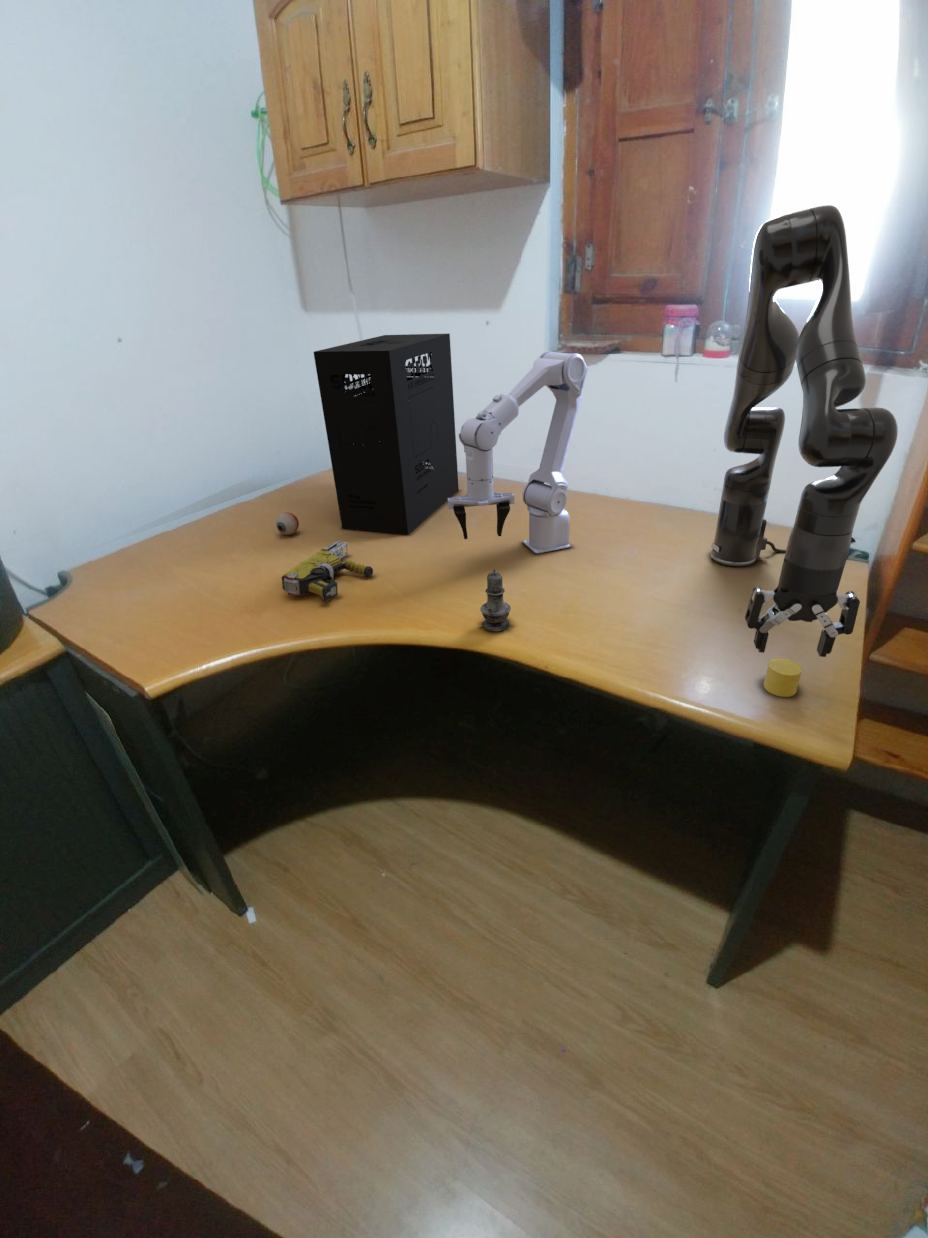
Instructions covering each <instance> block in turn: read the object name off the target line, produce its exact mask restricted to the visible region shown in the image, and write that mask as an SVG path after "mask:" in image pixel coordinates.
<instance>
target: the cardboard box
mask: <svg viewBox="0 0 928 1238" xmlns="http://www.w3.org/2000/svg"><path fill="white" fill-rule="evenodd" d="M426 355H427V356H426ZM313 357H314V358H313V359H314V365H315V370H316V376H317V382H318V389H319V394H320V402H321V406H322V413H323V419H324V427H325V433H326V438H327V444H328V451H329V456H330V457H329V458H330V463H331V469H332V476H333V483H334V487H335V493H336V494H335V495H336V499H337V505H338V512H339V517H340V519H339V520H340V523H341V524H340V525H341V529H346V530H347V529H348V530H358V531H369V532H376V533H377V532H379V533H388V534H398V535H410V534H411V533H412V532H413V531H414V530H415V529H416V528H418V526H420V525H421V524H422V523H424V521H425V520H427V519H428V518H429V517H430V516H431V515H432V514H434V513H435V512H436V511H437V510H438V509H440V507H441V506H442V505H444V504H445V503H446V502H448V498H453V496H454V495H455V494H456V493H458V491H459V490H460V489H459V488H460V487H459V471H458V455H457V454H458V453H457V438H456V437H457V436H456V421H455V418H456V417H455V404H454V403H455V401H454V384H453V383H454V382H453V369H452V367H453V366H452V349H451V334H450V333H415V334H414V333H411V334H383V335H379V336H375V337H371V338H367V339H361V340H357V341H354V342H349V343H345V344H341V345H337V346H332V347H327V348H323V349H319V350H315V351H313ZM416 357H417V360H416ZM407 361H408V362H407ZM428 361H429V364H428ZM406 364H407V365H406ZM423 364H424V365H423ZM427 364H428V365H427ZM355 375H356V376H357V378H356V377H355ZM346 376H347V377H346ZM362 376H363V377H362ZM351 379H352V380H351Z"/></svg>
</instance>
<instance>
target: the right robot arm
mask: <svg viewBox="0 0 928 1238" xmlns="http://www.w3.org/2000/svg"><path fill="white" fill-rule="evenodd" d="M847 243H848V242H847V234H846V228H845V223H844V220H843V216H842V214H841V212H840V211H839V209H838V208H837V207H836V206H834V205H831V204H828V205H827V204H826V205H820V206H815V207H814V206H813V207H810V208H807V209H802V210H799V211H795V212H791V213H788V214H787V213H786V214H783V215H781V216H777V217H774V218H771V219H767V220H766V221H765V222H763V223H762V224H761V225H760V227H759V229H758V231H757V232H756V235H755V238H754V241H753V247H752V255H751V262H750V274H749V276H750V277H749V287H748V288H749V289H748V301H747V309H746V314H745V315H746V316H745V321H744V326H743V332H742V337H741V340H740V341H741V342H740V347H739V351H738V357H737V362H736V373H735V378H734V379H735V380H734V388H733V394H732V398H731V403H730V406H729V410H728V413H727V417H726V422H725V426H724V433H723V445H724V448H725V449H726V450H727V451H728V452H729V453H730V452H731V453H734V454H745V455H758V456H757V457H756V458H755V459H753V460H751V461H749V462H747V463H743V464H740V465H736V466H733V467H731V468H729V469H726V472H725V473H724V477H723V484H722V490H721V496H720V500H719V501H720V502H719V507H718V514H717V519H716V524H715V531H714V537H713V542H711V545H710V546H711V552H710V558H711V559H712V560H713V561H714V562H716V563H718V564H721V565H724V566H729V567H746V566H751V565H753V564H754V563H755V562H757V561H760V556H761V553H762V552H761V551H765V550H766V547H767V545H769V546H770V547H771V549H772V551H773V552H776V553H780V554H784V557H783V562H782V566H781V570H780V574H779V579H778V583H777V586H776V588H775V589H774V590H766V589H762V587H760V586H755V587H753V588H752V591H751V594H750V598H749V602H748V605H747V608H746V611H745V616H744V620H745V622H746V626H747V628H748V629H751V630H752V629H754V630H755V633H754V637H753V643H754V647H755V650H757V652H758V653H762V654H763V653H765V652H766V648H767V643H768V639H769V635H770V634H769V631H770V630H772V629H773V628H774V627H775V626H779V625H782V623H783V622H785V621H786V620H788V621H789V622H799V621H802V622H806V623H813V621H816V620H818V621H819V623H820V624H821V626H822V627H823V628H824V629H822V630H821V633H820V635H819V639H818V643H817V646H816V652H817V654H818V656H819V657H821V658H825V657H827V655H829V654H831V652H832V650H833V647H834V644H835V641H836V638H837V637H838V636H839V635H843V634H844V635H851V634H853V633H854V629H855V625H856V621H857V617H858V613H859V608H860V603H861V601H860V599H859V598H858V596H857V594H856V593H855V592H854V591H853V590H848V591H846V592H845V593H844V594H842V593H839V594H838V593H837V591H838V590H839V586H840V583H841V580H842V576H843V573H844V569H845V566H846V563H847V561H848V560H849V555H850V549H851V544H852V542H856V539H855V538H854V537H853V531H854V527H855V524H856V521H857V517H858V515H859V514H858V513H859V510H860V507H861V504H862V502H863V500H864V499H865V497H866V495H867V494H868V492H869V491H870V489H871V488H872V486H873V485H874V482H875V481H876V479H877V478H878V476H879V475H880V473H881V471H882V470H883V469H884V467H885V465H886V464H887V462H888V461H889V459H890V457H891V456H892V453H893V451H894V449H895V447H896V444H897V440H898V435H899V433H898V431H899V429H898V422H897V419H896V416H894V413H892V412H891V411H890V410H888V409H887V408H883V407H874V406H873V407H856V408H839V407H841V406H844V405H846V404H848V403H850V402H852V401H854V400H855V399H856V398H858V397H859V396H860V395H862V392H863V391H864V389H865V387H866V383H867V382H866V381H867V378H866V372H865V367H864V363H863V360H862V355H861V352H860V349H859V348H860V347H859V344H858V341H857V338H856V332H855V328H854V321H853V313H852V295H851V294H852V293H851V280H850V266H849V257H848V245H847ZM815 281H818V282H819V285H820V291H819V295H818V298H817V300H816V302H815V304H814V306H813V309H812V311H811V313H810V315H809V316H808V318H807V320H806V322H805V324H804V326H803V327H802V330H801V332H800V334H799V331H798V328H797V327H796V325H795V323H794V322H793V320H792V319H791V318H790V317H789V316H788V315H787V313H786V312H785V311H784V310H783V309H782V308H781V307H780V305H779V303H778V301H777V299H776V297H775V295H776V293H777V291H778V290H782V289H785V288H786V289H787V288H790V287H795V286H799V285H804V284H807V283H812V282H815ZM795 364H796V368H797V372H798V377H799V382H800V386H801V390H802V391H801V392H802V412H801V414H802V415H801V423H800V428H799V433H798V434H799V435H798V442H797V443H798V452H799V454H800V456H801V457H802V459H803V460H804V461H805V463H807V464H808V465H809V466H812V467H814V468H835V467H837V468H838V467H839V469H838V470H837V471H836V472H835V473H833V474H832V475H830V476H828V477H824V478H821V479H817V480H815V481H812V482H810V483H808V484H807V485H806V486H805V487H804V488H803V489H802V492H801V495H800V499H799V502H798V503H799V504H798V507H797V511H796V516H795V520H794V524H793V527H792V529H791V532H790V534H789V536H788V537H789V538H788V541H787V544H786V548H785V550H784V549H779V548H777V547H776V546H775V544H774V543H773V542H771V541H769V540H768V538H767V537H765V533H766V528H767V522H768V521H767V519H765V513H766V508H767V505H768V504H767V503H768V499H769V494H770V489H771V484H772V478H773V473H774V469H775V464H776V460H777V455H778V452H779V448H780V445H781V441H782V438H783V434H784V429H785V423H786V413H785V411H784V409H783V408H780V407H774V406H757V405H758V404H759V405H760V404H761V402H763V401H764V400H766V399H767V398H769V397H770V396H771V395H773V394H774V393H775V392H777V391H778V390H779V389H780V388H782V386H783V385H784V384H785V383H786V382H787V381H788V380H789V378H790V377H791V375H792V373H793V371H794V367H795ZM772 600H773V602H774V604H772V605H771V606H770V607H769V608H768V609H767V610H766V612H765V613H764V614H762V615H761V616H760V614H761V611H762V608H763V606H767V604H768V602H769V601H772ZM837 604H838V605H839V607H840V609H841V611H840V615H839V621H837V622H833V621H832V620H831V618H830V617H829V615H828V613H827V612H828V611H830V610H831V609H832V608H834V607H835V606H837Z"/></svg>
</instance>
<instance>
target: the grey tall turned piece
mask: <svg viewBox="0 0 928 1238" xmlns="http://www.w3.org/2000/svg"><path fill="white" fill-rule="evenodd" d="M505 590H506V589H505V588H503V574H501V573H500V572H498V571H497V569H496V568H493V569H492V572H490V573H488V574H487V576H486V589H485V590H484V591H485V593H486V598H487V601H486V602H485V603H483V604H482V605H481V606H480V609H479V610H480V612H481V615H482V616H483V619H484V620H483V621H482V627H483V628H484V629H485V630H486V631H491V632H501V631H504V630H506V629H508V628H509V627H510V621H509V620H508V619H507V618H508V617H509V615H510V612H511V610H512V607H511V605H510V604H509V603H508V602H505V601H504V593H505V592H506V591H505Z"/></svg>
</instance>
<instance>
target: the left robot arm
mask: <svg viewBox="0 0 928 1238" xmlns="http://www.w3.org/2000/svg"><path fill="white" fill-rule="evenodd" d="M588 370H589V368H588V366H587V364H586V361H585V358H584V357H583V355H582V354H579V353H565V352H555V351H554V352H553V351H550V350H547V351H544V352H542V353H541V354H540V355H539V357H537V358H536V359H535V360H534V361H533V364H532V367H531V368H530V369H529V371H528V372H527V373H526V374H525V375H524V376H523V377H522V378H521V380H520V381H518V383H517V384H516V385H515V386H514V387H513V388H512V389H511V390H510V392H509V393H508V394H505V393H500V394H499V395H498V394H496V395H494V396H493V397H492V401H491V402H490V403H489V404H487V406H486V407H485V408H484V409H482V410H480V411H479V412H478V413H477V415H476V416H475V418H474V417H471V418H468V419H467V420H466V421H465V422H463V424H462V425H461V428H460V432H459V433H458V439H459V441H460V443H461V444H462V446H463V450H464V451H463V452H464V454H465V466H466V467H465V468H466V486H467V487H466V488H467V494H465V495H460V496H454V497H453V496H452V497H450V498H448V500H447V507H448V510H453V513H454V516H455V517H456V519H457V521H458V523H459V524H460V527H461V530H462V535H463V539H464V540H468V531H467V530H468V529H467V513H466V508H469V507H484V506H485V507H486V506H496V534H497V536H498V537H502V535H503V534H502V533H503V528H504V525H505V522H506V519H507V517H508V515H509V513H510V511H511V506H510V505H515V494H514V492H495V489H494V487H495V485H494V450H493V449H494V448H495V446H496V445H497V444H498V441H499V437H500V435H501V434H502V432H503V431H504V429H506V428H507V426H509V425H510V424H511V423H512V422H513V421H514V420H515V419H516V418H517V417H518V416H519V411H520V407H521V406H522V405H523V404H525V403H526V402H527V401H528V400H529V399H530V398H532V397H533V396H534V395H535V394H536V393H537V392H539V391H540V390H541V389H542V388H544V387H547V389H549V390H550V392H552V394H553V396H554V398H555V404H554V408H553V411H552V415H551V420H550V424H549V428H548V432H547V436H546V439H545V444H544V447H543V451H542V455H541V460H540V463H539V467H538V468H537V470H535V471H533V472H532V473H531V474H530V475H529V477H528V481H527V483H526V484H525V486H524V488H523V491H522V501H523V504H525V505H526V506H527V507H526V508H527V511H529V512H528V513H529V514H528V539H524V540H523V541H522V543H523V544H524V545H525V546H526V547H527V548H528V549H530V550H531V551H532V552H533V553H534V554H537V555H538V554H542V553H548V552H552V551H558V550H564V549H568V548H571V544H570V535H571V534H570V533H571V532H570V531H571V519H570V514H569V512H568V511H567V509H566V506H567V502H568V488H569V484H568V481H567V480H566V479H565V476H563V472H564V471H563V470H564V467H565V464H566V459H567V456H568V452H569V447H570V445H571V441H572V437H573V433H574V429H575V426H576V422H577V418H578V414H579V411H580V407H581V402H582V398H583V389H584V386H585V381H586V379H587V374H588Z"/></svg>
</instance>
